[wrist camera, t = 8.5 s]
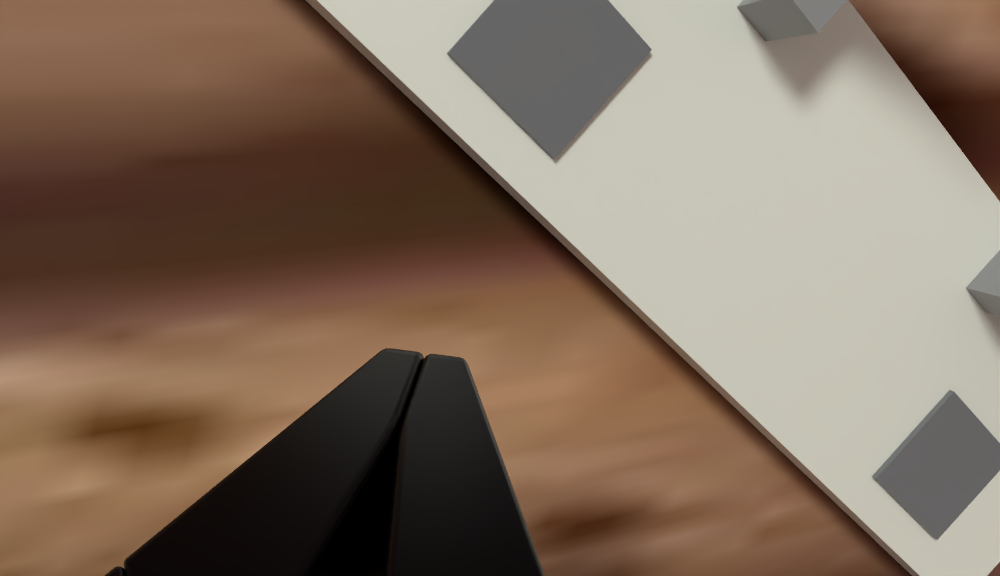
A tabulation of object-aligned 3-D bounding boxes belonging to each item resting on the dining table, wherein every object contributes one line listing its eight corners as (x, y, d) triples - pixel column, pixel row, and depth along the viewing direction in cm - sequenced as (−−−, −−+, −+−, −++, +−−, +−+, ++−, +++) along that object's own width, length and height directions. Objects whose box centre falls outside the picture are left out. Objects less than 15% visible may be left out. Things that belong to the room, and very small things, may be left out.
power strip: (915, 579, 23) (1011, 653, 20) (230, -71, 15) (208, -121, 12) (1094, 380, 23) (1219, 422, 20) (504, -380, 15) (555, -514, 12)
